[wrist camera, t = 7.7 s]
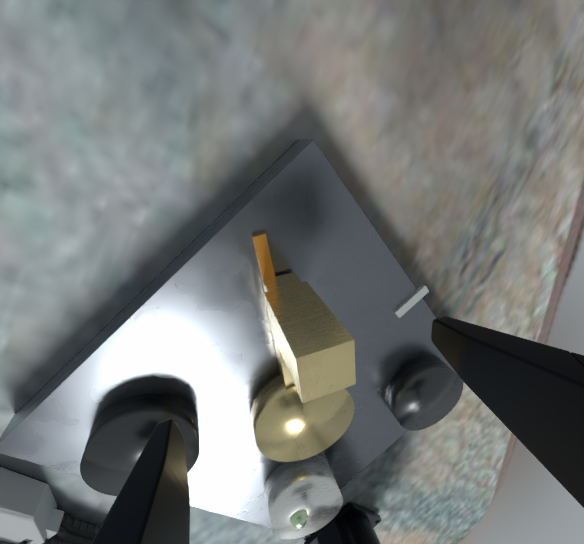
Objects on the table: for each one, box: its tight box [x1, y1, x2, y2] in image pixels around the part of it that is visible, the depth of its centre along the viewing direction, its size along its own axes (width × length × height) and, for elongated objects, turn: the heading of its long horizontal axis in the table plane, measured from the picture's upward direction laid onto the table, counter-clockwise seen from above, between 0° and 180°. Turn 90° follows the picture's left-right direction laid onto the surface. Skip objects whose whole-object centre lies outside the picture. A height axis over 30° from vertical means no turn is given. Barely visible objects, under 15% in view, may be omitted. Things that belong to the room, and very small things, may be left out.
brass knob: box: [251, 272, 356, 462], centre depth 14 cm, size 12×6×6 cm, turn 7°
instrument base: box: [0, 140, 464, 539], centre depth 18 cm, size 22×20×5 cm
